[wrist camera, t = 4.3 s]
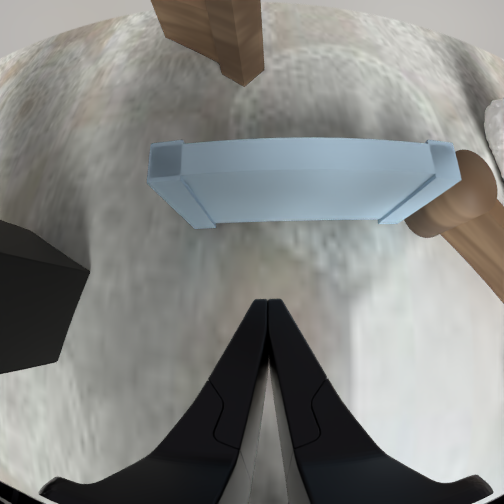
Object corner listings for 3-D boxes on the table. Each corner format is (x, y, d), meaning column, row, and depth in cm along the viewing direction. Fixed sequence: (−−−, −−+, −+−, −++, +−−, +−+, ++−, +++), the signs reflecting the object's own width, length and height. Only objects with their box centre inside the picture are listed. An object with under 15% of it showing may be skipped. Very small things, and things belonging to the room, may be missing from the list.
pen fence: (514, 340, 17) (594, 347, 9) (149, 49, 23) (116, -20, 14) (560, 218, 18) (621, 193, 10) (247, -16, 24) (240, -80, 15)
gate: (393, 197, 19) (452, 142, 11) (397, 223, 19) (461, 179, 11) (195, 201, 20) (150, 143, 12) (194, 228, 20) (146, 183, 12)
